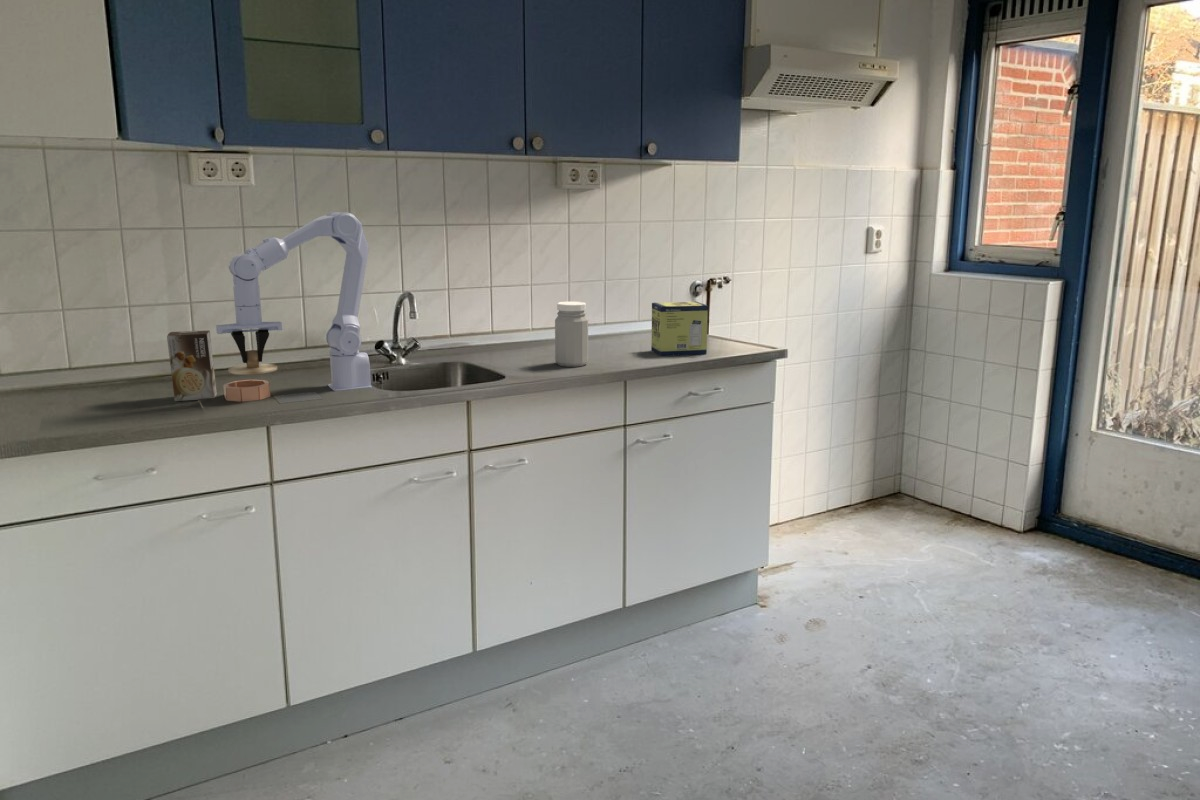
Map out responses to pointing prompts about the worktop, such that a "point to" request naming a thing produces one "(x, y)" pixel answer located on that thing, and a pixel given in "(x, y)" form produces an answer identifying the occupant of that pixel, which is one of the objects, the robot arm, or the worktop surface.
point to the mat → (297, 397)
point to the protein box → (679, 328)
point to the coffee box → (191, 365)
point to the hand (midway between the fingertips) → (252, 361)
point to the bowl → (246, 390)
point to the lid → (252, 365)
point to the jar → (571, 334)
